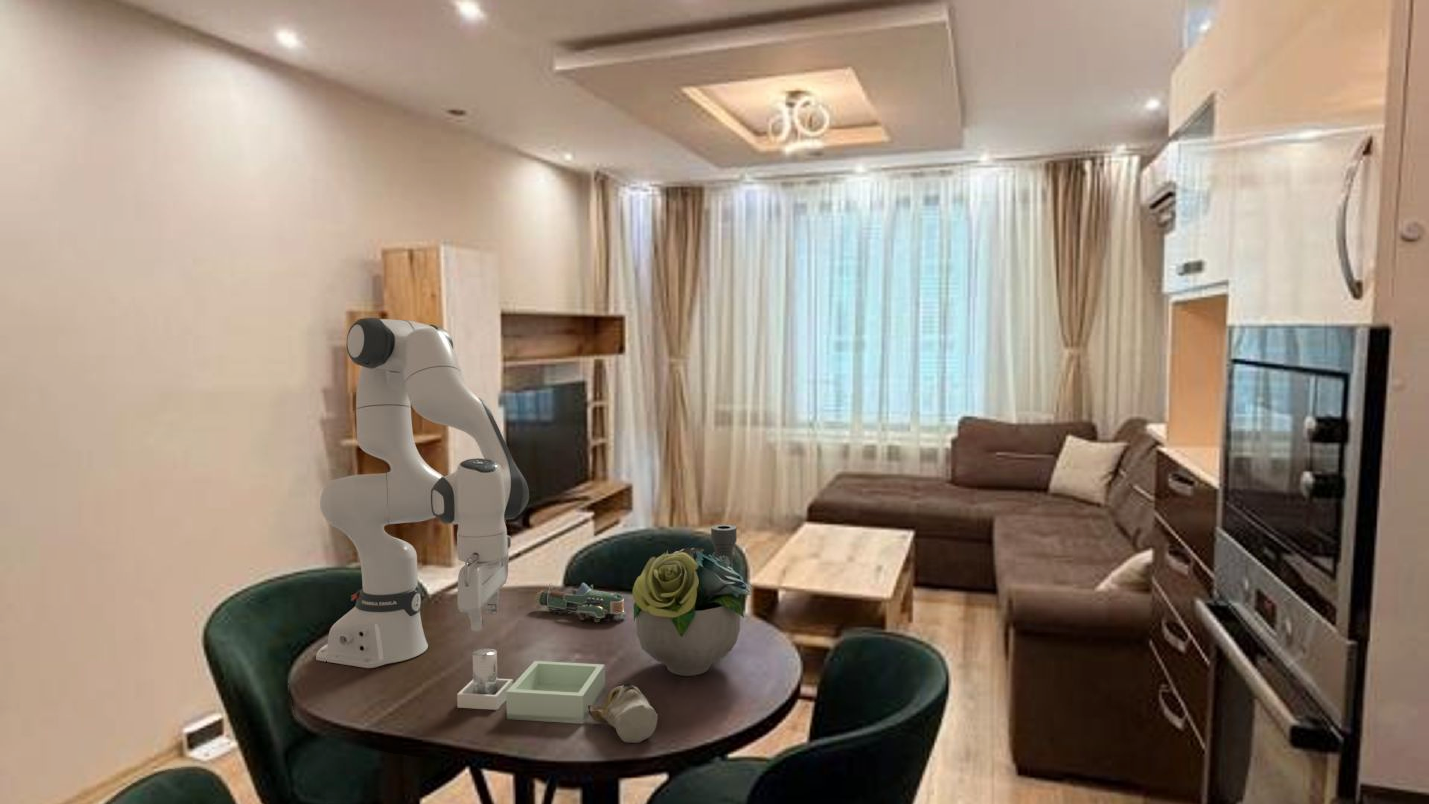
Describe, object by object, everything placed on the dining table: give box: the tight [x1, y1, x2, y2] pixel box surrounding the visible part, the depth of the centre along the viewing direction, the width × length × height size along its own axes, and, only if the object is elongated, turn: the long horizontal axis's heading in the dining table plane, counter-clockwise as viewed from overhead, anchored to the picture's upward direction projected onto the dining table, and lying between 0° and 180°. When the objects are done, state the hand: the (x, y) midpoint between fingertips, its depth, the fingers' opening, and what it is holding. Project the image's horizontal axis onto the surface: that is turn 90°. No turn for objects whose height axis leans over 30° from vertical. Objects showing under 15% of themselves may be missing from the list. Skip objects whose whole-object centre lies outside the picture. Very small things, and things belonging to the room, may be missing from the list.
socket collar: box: [456, 678, 514, 711], centre depth 153 cm, size 8×8×2 cm
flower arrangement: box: [632, 547, 753, 677], centre depth 165 cm, size 25×25×24 cm
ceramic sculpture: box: [588, 682, 659, 744], centre depth 140 cm, size 11×9×15 cm
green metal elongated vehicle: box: [535, 582, 628, 623], centre depth 200 cm, size 10×25×8 cm, turn 68°
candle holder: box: [710, 524, 739, 598], centre depth 184 cm, size 6×6×25 cm
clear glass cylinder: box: [471, 648, 499, 695], centre depth 152 cm, size 4×4×9 cm
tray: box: [505, 660, 606, 725], centre depth 150 cm, size 14×14×5 cm
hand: (484, 621), depth 151 cm, fingers open, 8 cm apart
